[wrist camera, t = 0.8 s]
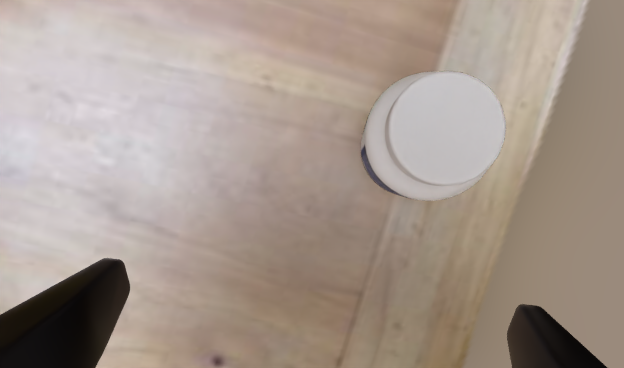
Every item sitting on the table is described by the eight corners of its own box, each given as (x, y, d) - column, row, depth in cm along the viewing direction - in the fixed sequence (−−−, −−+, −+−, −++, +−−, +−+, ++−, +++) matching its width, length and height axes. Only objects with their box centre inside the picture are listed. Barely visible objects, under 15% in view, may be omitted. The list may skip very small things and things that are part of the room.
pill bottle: (451, 197, 23) (523, 212, 14) (357, 192, 24) (363, 203, 14) (457, 103, 23) (534, 51, 14) (363, 99, 24) (372, 47, 14)
